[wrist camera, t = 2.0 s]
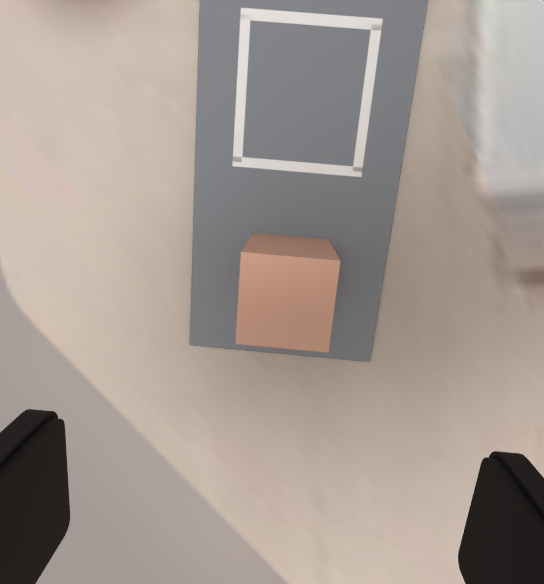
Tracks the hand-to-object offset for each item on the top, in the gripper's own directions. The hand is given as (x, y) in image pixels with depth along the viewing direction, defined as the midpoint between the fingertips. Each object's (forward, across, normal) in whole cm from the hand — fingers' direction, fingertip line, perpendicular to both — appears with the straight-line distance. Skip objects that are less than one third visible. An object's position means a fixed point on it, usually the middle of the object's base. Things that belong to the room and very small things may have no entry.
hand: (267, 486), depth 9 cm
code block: (+20, 0, 0) cm, 20 cm away
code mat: (+20, 0, -6) cm, 21 cm away
